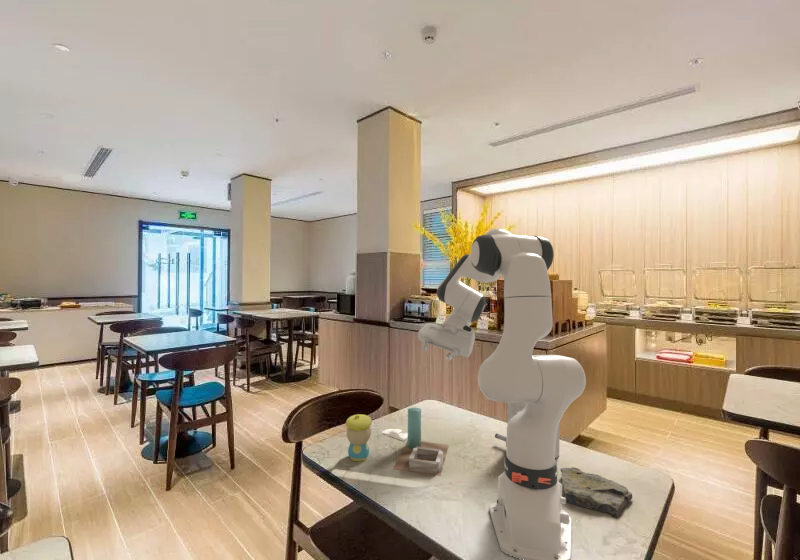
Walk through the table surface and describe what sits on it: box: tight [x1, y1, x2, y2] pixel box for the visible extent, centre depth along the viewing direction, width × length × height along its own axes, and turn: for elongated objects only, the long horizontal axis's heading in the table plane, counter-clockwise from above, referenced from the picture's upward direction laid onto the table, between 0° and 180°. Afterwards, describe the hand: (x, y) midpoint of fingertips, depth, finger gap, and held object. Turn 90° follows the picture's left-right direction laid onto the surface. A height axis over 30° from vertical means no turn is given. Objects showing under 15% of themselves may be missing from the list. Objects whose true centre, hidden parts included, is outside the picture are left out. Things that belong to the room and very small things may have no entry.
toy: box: [345, 413, 373, 462], centre depth 116 cm, size 8×9×15 cm
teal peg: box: [407, 407, 422, 449], centre depth 124 cm, size 4×4×12 cm
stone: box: [559, 466, 633, 518], centre depth 99 cm, size 18×15×4 cm
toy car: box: [380, 428, 408, 442], centre depth 133 cm, size 6×12×3 cm, turn 51°
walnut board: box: [392, 440, 450, 477], centre depth 117 cm, size 20×14×4 cm
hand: (435, 354), depth 129 cm, fingers open, 8 cm apart
